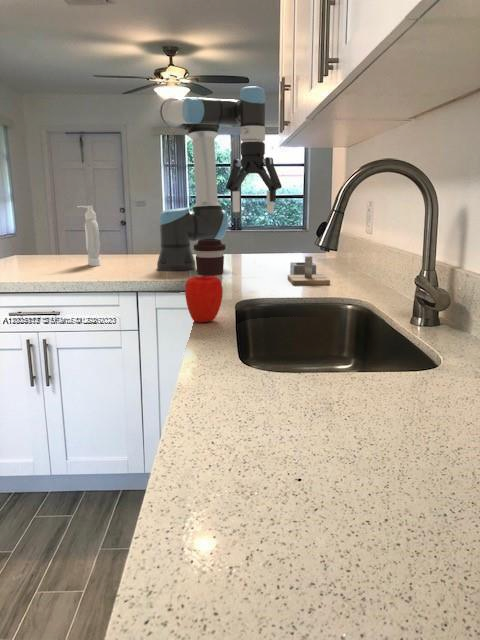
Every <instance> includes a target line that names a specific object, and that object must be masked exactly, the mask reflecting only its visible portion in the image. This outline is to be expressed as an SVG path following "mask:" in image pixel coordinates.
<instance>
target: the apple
mask: <svg viewBox="0 0 480 640" xmlns="http://www.w3.org/2000/svg"><path fill="white" fill-rule="evenodd" d="M184 285H185V287H184V288H185V291H184V295H185V301H186V306H187V309H188V313H189V316H190V318H191V319H192V320H193V322H195V323H197V322H198V324H200V323H206V322H210V321H211V322H212V321H213V320H215V319H216V317H217V315H218V313H219V311H220V309H221V305H222V301H223V300H222V299H223V290H224V289H223V283H222V284H221V281H220V279H218V278H217V277H214V276H200V277H198V276H193V277H189V278H188V279H187V280H186V282H185V284H184Z"/></svg>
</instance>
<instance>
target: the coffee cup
mask: <svg viewBox="0 0 480 640" xmlns="http://www.w3.org/2000/svg"><path fill="white" fill-rule="evenodd" d="M193 250H194V251H195V267H196V273H197V277H200V276H214V277H217V278H218V279H220V281H221V284H222V285H223V275H224V264H225V263H224V261H225V260H224V259H225V256H224V252H225V250H226V244H225V243H222V241H221V239H200V240H199V241H197V243H196V244H194V245H193Z"/></svg>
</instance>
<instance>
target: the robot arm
mask: <svg viewBox="0 0 480 640" xmlns="http://www.w3.org/2000/svg"><path fill="white" fill-rule="evenodd" d="M265 93H266V92H265V89H264V88H262V87H260V86H244V87H242V88H241V89H240V94H239V99H226V98H224V99H223V98H207V97H197V96H192V97H191V96H190V97H189V96H186V97H185V96H174V97H170V98H167V99H165V100H164V101H162V103H161V105H160V108H159V116H160V118H161V120H162V122H163V123H164V124H165V125H166V126H168V127H170V128H172V129H177V130H183V131H185V130H186V131H187V134H188V135H187V136H188V137H189V138H190V139H191V140H192V154H193V169H194V170H193V171H194V186H195V187H194V188H195V189H194V190H195V203H194V205H192V211H191V210H190V208H189V207H180V208H179V207H177V208H171V209H166V210H163V211H161V212H160V214H159V223H158V225H159V236H160V237H159V238H160V239H159V240H160V252H159V255H158V259H157V263H156V267H157V270H159V271H167V272H173V271H174V272H175V271H176V272H179V271H181V272H182V271H190V270H195V269H196V259H195V257H194V254H193V252H192V250H191V242H198V241H199V240H200V239H219V240H221V239H223V238H224V237H225V235H226V233H227V229H228V225H229V223H228V222H229V221H228V220H229V218H228V213H227V211H226V210H224V209H223V206H222V204H221V203H220V202H219V201H218V181H217V165H216V146H215V139H216V138H217V137H218V135H219V132H220V131H221V130H222V127H223V126H230V127H232V128H240V141H241V143H240V155H241V159H238V158H234V159H233V161H232V167H231V170H230V174H229V177H228V179H227V181H226V184H225V189H226V190H229V191H230V201H231V202H232V213H240V212H241V211H240V210H241V207H240V206H241V205H240V204H241V203H240V200H241V199H240V198H241V197H240V195H241V194H240V192H241V191H239V188H240V187H241V185H242V184H243V182H244V180H245V179H246V178H247V176H248V175H249V174H258V175H259V178H261V180H262V181H263V182H264V184H265V186H266V187H267V188H268V190H266V213H267V214H270V213H271V214H272V213H273V214H274V212H275V206H274V205H275V202H276V200H277V197H276V196H277V195H276V194H277V191H278V190H279V189H282V183H281V181H280V178H279V176H278V173H277V170H276V168H275V166H274V158H273V157H269V156H267V157H265V154H266V143H265V141H266V125H265V124H266V101H267V100H266V94H265ZM264 165H265V167H264Z"/></svg>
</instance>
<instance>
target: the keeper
mask: <svg viewBox="0 0 480 640" xmlns="http://www.w3.org/2000/svg"><path fill="white" fill-rule="evenodd" d="M304 262H305V275H291V274H288V275H287V280H288V281H289V282H290V283H291V285H292V286H320V285H321V286H327V285H328V286H331V280H330V278H328V277H327V276H326V275H323V274H322V273H321V274H319V273H318V274H317V273H316V274H313V275H312V263H313V256H312V255H307V256H304Z"/></svg>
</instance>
